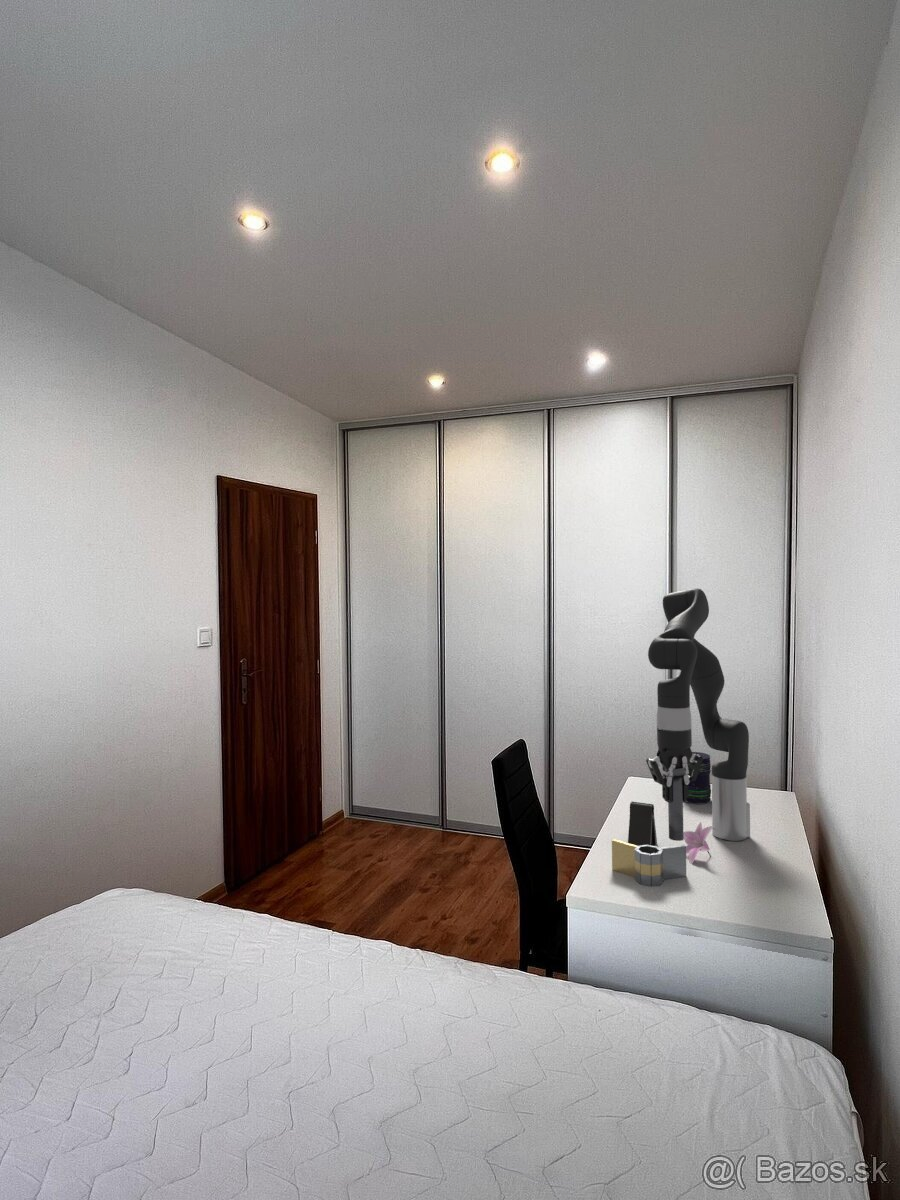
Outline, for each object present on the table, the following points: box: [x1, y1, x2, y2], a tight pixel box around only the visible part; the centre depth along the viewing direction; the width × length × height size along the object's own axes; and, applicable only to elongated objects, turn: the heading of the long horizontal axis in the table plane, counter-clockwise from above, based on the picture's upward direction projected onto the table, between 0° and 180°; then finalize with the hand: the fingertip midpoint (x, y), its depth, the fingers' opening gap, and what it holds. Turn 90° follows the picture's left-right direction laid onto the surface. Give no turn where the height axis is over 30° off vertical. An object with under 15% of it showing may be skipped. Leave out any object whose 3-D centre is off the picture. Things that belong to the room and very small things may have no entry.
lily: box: [683, 821, 713, 865], centre depth 178 cm, size 11×11×9 cm
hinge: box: [611, 838, 687, 887], centre depth 168 cm, size 15×12×8 cm
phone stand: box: [627, 801, 658, 846], centre depth 186 cm, size 9×6×12 cm, turn 150°
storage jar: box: [683, 751, 712, 805], centre depth 227 cm, size 10×10×15 cm
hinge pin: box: [664, 767, 686, 842], centre depth 155 cm, size 5×5×16 cm
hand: (675, 800), depth 155 cm, fingers closed on hinge pin, 3 cm apart
